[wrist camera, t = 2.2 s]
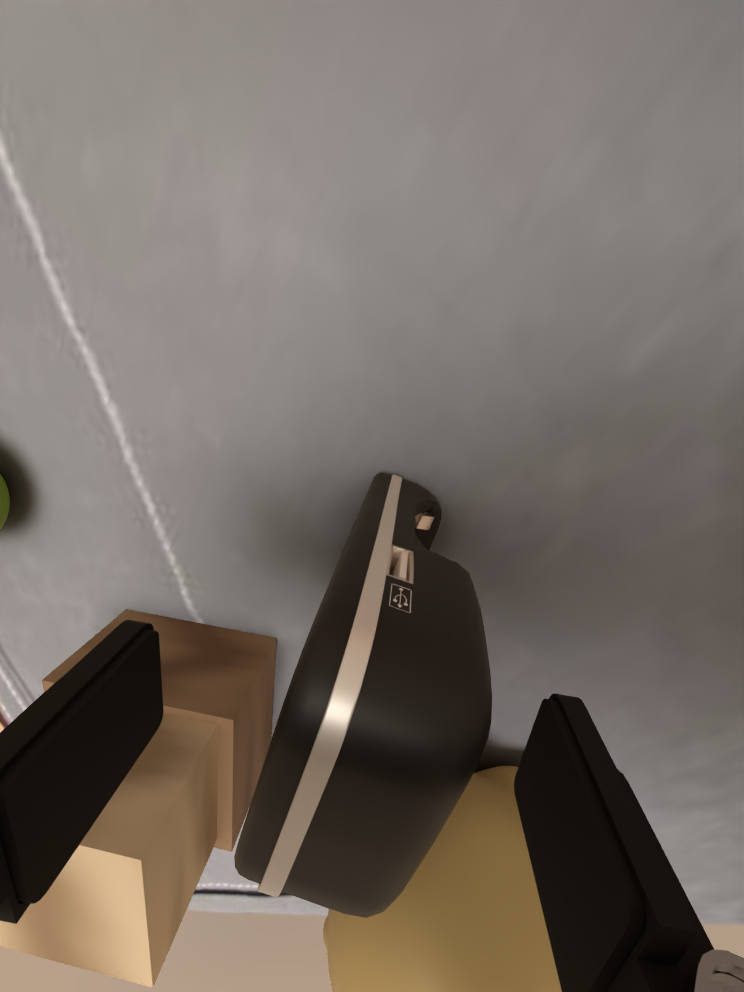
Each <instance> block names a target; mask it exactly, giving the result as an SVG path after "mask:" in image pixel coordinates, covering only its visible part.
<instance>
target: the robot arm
mask: <svg viewBox="0 0 744 992" xmlns="http://www.w3.org/2000/svg"><path fill="white" fill-rule="evenodd" d="M163 712H164V711H163V694H162V677H161V659H160V642H159V633H158V632H157V631H154V627H153V625H152V624H150V623H145V622H139V621H133V620H125V621H123V622H122V623H121V624H119V625H118V626H117V627H116V628H115V629H114V630H113V631H112V632H111V633H110V634H109V635H107V636H106V637H105V638H104V639H103V640H102V641H101V642H100V643H99V644H98V645H96V646H95V647H94V648H93V649H92V650H91V651H90V652H89V653H88V654H87V655H86V656H84V657H83V658H82V659H81V660H80V661H79V662H78V663H77V664H76V665H75V666H74V667H72V668H71V669H70V670H69V671H68V672H67V673H66V674H65V675H64V676H63V677H61V678H60V679H59V680H58V681H56V682H55V683H54V684H53V685H52V686H51V687H50V688H49V689H48V690H47V691H45V692H44V693H43V694H42V695H41V696H40V697H39V698H38V699H37V700H36V701H35V702H33V703H32V704H31V705H30V706H29V707H28V708H27V709H26V710H25V711H24V712H22V713H21V714H20V715H19V716H18V717H17V718H16V719H15V720H14V721H13V722H11V723H10V724H9V725H8V726H7V727H6V728H5V729H4V730H3V731H2V732H1V733H0V921H4V922H9V923H14V924H17V923H18V921H19V920H20V918H21V917H22V915H23V914H24V912H25V911H26V910H27V908H28V907H29V905H30V904H34V903H37V902H38V901H40V900H41V899H42V898H43V896H44V895H45V894H46V893H47V891H48V890H49V889H50V887H51V886H52V884H53V883H54V881H55V880H56V878H57V877H58V875H59V874H60V872H61V871H62V870H63V868H64V867H65V865H66V864H67V862H68V861H69V859H70V858H71V856H72V855H73V853H74V852H75V850H76V849H77V848H78V846H79V845H80V843H81V842H82V840H83V839H84V837H85V836H86V834H87V833H88V831H89V830H90V828H91V827H92V825H93V824H94V823H95V821H96V820H97V818H98V817H99V815H100V814H101V812H102V811H103V809H104V808H105V806H106V805H107V803H108V802H109V801H110V799H111V798H112V796H113V795H114V793H115V792H116V790H117V789H118V787H119V786H120V784H121V783H122V781H123V780H124V778H125V777H126V776H127V774H128V773H129V771H130V770H131V768H132V767H133V765H134V764H135V762H136V761H137V759H138V758H139V756H140V755H141V754H142V752H143V751H144V749H145V748H146V746H147V745H148V743H149V742H150V740H151V739H152V737H153V736H154V734H155V733H156V731H157V730H158V728H159V726H160V724H161V722H162V719H163ZM514 793H515V798H516V802H517V807H518V811H519V815H520V819H521V823H522V827H523V832H524V836H525V840H526V844H527V848H528V852H529V857H530V861H531V865H532V869H533V873H534V878H535V882H536V886H537V890H538V894H539V898H540V903H541V907H542V911H543V915H544V919H545V923H546V928H547V932H548V936H549V940H550V944H551V949H552V953H553V957H554V961H555V965H556V969H557V974H558V978H559V982H560V986H561V990H562V992H744V958H742V957H740V956H737V955H735V954H733V953H730V952H728V951H725V950H724V951H723V950H714V948H713V946H712V945H711V943H710V940H709V938H708V937H707V935H706V933H705V931H704V929H703V927H702V925H701V923H700V921H699V919H698V917H697V915H696V913H695V911H694V909H693V907H692V905H691V903H690V901H689V900H688V898H687V896H686V894H685V892H684V890H683V888H682V886H681V884H680V882H679V880H678V878H677V876H676V874H675V872H674V870H673V868H672V867H671V865H670V863H669V861H668V859H667V857H666V855H665V853H664V851H663V849H662V847H661V845H660V843H659V841H658V839H657V837H656V835H655V833H654V832H653V830H652V828H651V826H650V824H649V822H648V820H647V818H646V816H645V814H644V812H643V810H642V808H641V806H640V804H639V802H638V800H637V798H636V797H635V795H634V793H633V791H632V789H631V787H630V785H629V783H628V781H627V780H626V778H625V777H624V775H623V774H622V773H621V772H620V771H619V770H618V769H617V768H616V766H615V764H614V762H613V760H612V758H611V756H610V754H609V752H608V751H607V749H606V747H605V745H604V743H603V741H602V739H601V737H600V735H599V733H598V731H597V729H596V727H595V725H594V723H593V721H592V719H591V717H590V715H589V713H588V711H587V709H586V707H585V705H584V703H583V702H582V700H581V699H580V698H577V697H571V696H565V695H560V694H552V695H551V696H550V698H549V699H544V700H543V701H542V703H541V706H540V709H539V711H538V714H537V717H536V720H535V723H534V725H533V728H532V731H531V734H530V736H529V739H528V742H527V745H526V748H525V750H524V753H523V756H522V759H521V761H520V764H519V767H518V770H517V772H516V775H515V779H514Z"/></svg>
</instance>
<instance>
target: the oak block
mask: <svg viewBox="0 0 744 992" xmlns="http://www.w3.org/2000/svg"><path fill="white" fill-rule="evenodd" d="M217 762H218V724H214V723H210V722H205V721H200V720H196V719H191V718H187V717H182V716H178V715H173V714H169V713H164V712H163V719H162V722H161V724H160V726H159V728H158V730H157V731H156V733H155V734H154V736H153V737H152V739H151V740H150V742H149V743H148V745H147V746H146V748H145V749H144V751H143V752H142V754H141V755H140V756H139V758H138V759H137V761H136V762H135V764H134V765H133V767H132V768H131V770H130V771H129V773H128V774H127V776H126V777H125V778H124V780H123V781H122V783H121V784H120V786H119V787H118V789H117V790H116V792H115V793H114V795H113V796H112V798H111V799H110V801H109V802H108V803H107V805H106V806H105V808H104V809H103V811H102V812H101V814H100V815H99V817H98V818H97V820H96V821H95V823H94V824H93V825H92V827H91V828H90V830H89V831H88V833H87V834H86V836H85V837H84V839H83V840H82V842H81V843H80V845H79V846H78V848H77V849H76V850H75V852H74V853H73V855H72V856H71V858H70V859H69V861H68V862H67V864H66V865H65V867H64V868H63V870H62V871H61V872H60V874H59V875H58V877H57V878H56V880H55V881H54V883H53V884H52V886H51V887H50V889H49V890H48V891H47V893H46V894H45V895H44V896H43V898H42V899H41V900H40V901H38V902H37V903H34V904H30V905H29V907H28V908H27V910H26V911H25V912H24V914H23V915H22V917H21V918H20V920H19V921H18V923H17V924H14V923H9V922H4V921H0V946H1V947H5V948H8V949H12V950H16V951H19V952H23V953H27V954H31V955H34V956H38V957H42V958H45V959H49V960H53V961H56V962H60V963H64V964H67V965H71V966H75V967H79V968H82V969H86V970H90V971H94V972H97V973H101V974H105V975H108V976H112V977H115V978H119V979H123V980H127V981H130V982H134V983H138V984H141V985H145V986H149V987H152V988H153V986H154V984H155V981H156V979H157V977H158V974H159V972H160V970H161V967H162V965H163V963H164V961H165V958H166V956H167V954H168V951H169V949H170V947H171V944H172V942H173V940H174V937H175V935H176V933H177V930H178V928H179V925H180V923H181V921H182V919H183V916H184V914H185V912H186V910H187V907H188V905H189V903H190V900H191V898H192V896H193V893H194V891H195V889H196V886H197V884H198V882H199V879H200V877H201V875H202V872H203V870H204V868H205V865H206V863H207V861H208V859H209V856H210V854H211V852H212V849H213V847H214V845H215V842H216V840H217Z"/></svg>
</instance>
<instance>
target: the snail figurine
mask: <svg viewBox="0 0 744 992" xmlns="http://www.w3.org/2000/svg"><path fill="white" fill-rule="evenodd" d="M9 508H10V496H9V491H8V487H7V485H6V482H5V480H4V479H3V477H2V475H1V474H0V530H1V529H2V527H3V525H4V524H5V522H6V519H7V516H8V513H9Z"/></svg>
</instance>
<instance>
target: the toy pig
mask: <svg viewBox="0 0 744 992" xmlns="http://www.w3.org/2000/svg"><path fill="white" fill-rule="evenodd" d="M517 770H518V767H516V766H498V767H493V768H489V769H486V770H482V771H479V772H476V773H473V775H472V777H471V779H470V781H469V783H468V785H467V787H466V788H465V790H464V792H463V794H462V795H461V797H460V799H459V800H458V802H457V804H456V806H455V807H454V809H453V811H452V812H451V814H450V816H449V818H448V819H447V821H446V823H445V824H444V826H443V828H442V830H441V831H440V833H439V835H438V836H437V838H436V840H435V842H434V843H433V845H432V846H431V848H430V849H429V851H428V853H427V854H426V856H425V857H424V859H423V860H422V862H421V864H420V865H419V867H418V868H417V870H416V871H415V873H414V874H413V876H412V878H411V879H410V881H409V882H408V884H407V885H406V887H405V889H404V890H403V891H402V893H401V894H400V895H399V896H398V897H397V899H396V900H395V901H394V902H393V903H392V904H391V905H390V906H389V907H388V908H387V909H386V910H385V911H384V912H382V913H379V914H376V915H373V916H370V917H368V918H364V917H359V916H353V915H347V914H343V913H340V912H338V911H335V910H332V909H329V912H328V916H327V918H326V920H325V924H324V929H323V937H324V942H325V945H326V948H327V952H328V953H327V954H328V965H329V973H330V979H331V985H332V990H333V992H562V990H561V986H560V982H559V978H558V974H557V969H556V965H555V961H554V957H553V953H552V949H551V944H550V940H549V936H548V932H547V928H546V923H545V919H544V915H543V911H542V907H541V903H540V898H539V894H538V890H537V886H536V882H535V878H534V873H533V869H532V865H531V861H530V857H529V852H528V848H527V844H526V840H525V836H524V832H523V827H522V823H521V819H520V815H519V811H518V807H517V802H516V798H515V793H514V779H515V775H516V772H517Z"/></svg>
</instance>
